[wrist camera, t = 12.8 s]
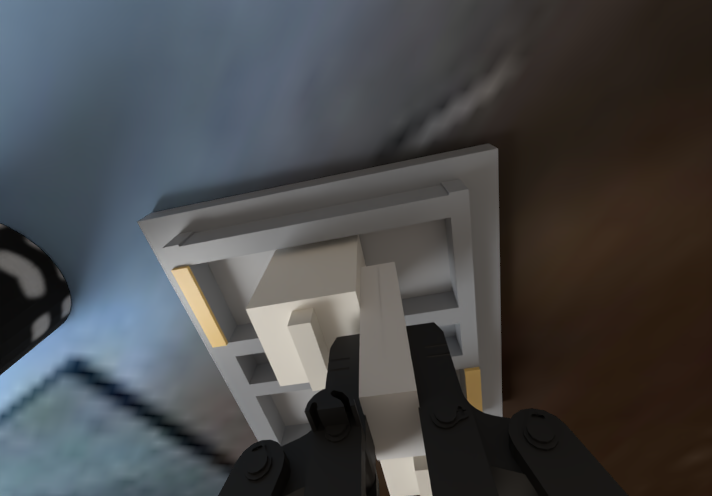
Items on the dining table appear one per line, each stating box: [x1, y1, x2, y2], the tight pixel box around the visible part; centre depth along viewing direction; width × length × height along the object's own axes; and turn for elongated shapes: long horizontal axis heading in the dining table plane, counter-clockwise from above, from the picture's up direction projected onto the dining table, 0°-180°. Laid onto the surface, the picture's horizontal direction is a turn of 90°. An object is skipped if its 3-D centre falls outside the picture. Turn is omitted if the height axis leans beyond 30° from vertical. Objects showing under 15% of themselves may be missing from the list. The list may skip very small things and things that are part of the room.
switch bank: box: [137, 143, 502, 446], centre depth 19 cm, size 17×18×3 cm
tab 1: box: [246, 234, 366, 391], centre depth 14 cm, size 4×4×6 cm
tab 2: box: [380, 455, 432, 496], centre depth 18 cm, size 4×4×6 cm
